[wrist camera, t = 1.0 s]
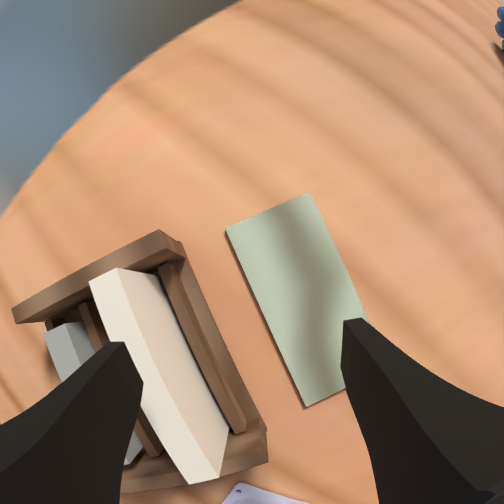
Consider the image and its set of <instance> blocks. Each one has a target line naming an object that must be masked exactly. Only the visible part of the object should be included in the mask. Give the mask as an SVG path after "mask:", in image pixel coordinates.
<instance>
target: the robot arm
mask: <svg viewBox="0 0 504 504" xmlns="http://www.w3.org/2000/svg"><path fill="white" fill-rule="evenodd" d="M340 367H341V371H342V375H343V380H344V384H345V388H346V392H347V395H348V397H349V400H350V403H351V405H352V408H353V411H354V413H355V416H356V418H357V421H358V424H359V426H360V429H361V432H362V434H363V437H364V440H365V443H366V445H367V449H368V452H369V455H370V459H371V464H372V468H373V473H374V478H375V483H376V488H377V494H378V499H379V504H504V407H501V406H498V405H495V404H493V403H490V402H487V401H485V400H483V399H480V398H478V397H476V396H474V395H471V394H469V393H467V392H465V391H463V390H461V389H459V388H457V387H456V386H454V385H452V384H450V383H449V382H447V381H445V380H443V379H442V378H440V377H438V376H437V375H435V374H433V373H432V372H430V371H429V370H428V369H426V368H425V367H423V366H422V365H420V364H419V363H417V362H416V361H415V360H413V359H412V358H411V357H409V356H408V355H407V354H405V353H404V352H403V351H401V350H400V349H399V348H398V347H396V346H395V345H394V344H393V343H391V342H390V341H389V340H388V339H387V338H385V337H384V336H383V335H382V334H381V333H380V332H378V331H377V330H376V329H375V328H374V327H372V326H371V325H370V324H369V323H368V322H367V321H365V320H364V319H363V318H362V317H360V318H355V319H349V320H343V335H342V350H341V364H340ZM143 385H144V382H143V380H142V378H141V376H140V374H139V372H138V370H137V368H136V366H135V364H134V362H133V360H132V358H131V355H130V353H129V351H128V349H127V347H126V344H125V342H124V341H120V342H108V343H107V344H106V345H104V346H103V347H102V348H101V349H99V350H98V351H97V352H96V353H95V354H94V355H93V356H91V357H90V358H89V359H88V360H87V361H86V362H85V363H84V364H82V365H81V366H80V367H79V368H78V369H77V370H76V371H75V372H74V373H72V374H71V375H70V376H69V377H68V378H67V379H66V380H64V381H63V382H62V383H61V384H60V385H58V386H57V387H56V388H55V389H54V390H52V391H51V392H50V393H49V394H48V395H47V396H45V397H44V398H43V399H41V400H40V401H39V402H37V403H36V404H34V405H33V406H32V407H30V408H29V409H27V410H26V411H24V412H23V413H21V414H19V415H18V416H16V417H14V418H12V419H11V420H9V421H7V422H5V423H3V424H2V425H0V504H119V502H120V488H121V480H122V472H123V466H124V461H125V457H126V454H127V450H128V447H129V443H130V440H131V436H132V433H133V430H134V426H135V423H136V420H137V416H138V413H139V409H140V405H141V399H142V392H143ZM236 490H241V491H236ZM221 504H310V503H306V502H303V501H299V500H295V499H292V498H288V497H285V496H281V495H278V494H275V493H272V492H269V491H266V490H263V489H260V488H257V487H254V486H251V485H249V484H246V483H243V482H239V483H237V484H236V485H235V486H234V487H233V489H232V490H231V491H230V492H229V494H228V495H227V496H226V497H225V499H224V500H223V501H222V502H221Z"/></svg>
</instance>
